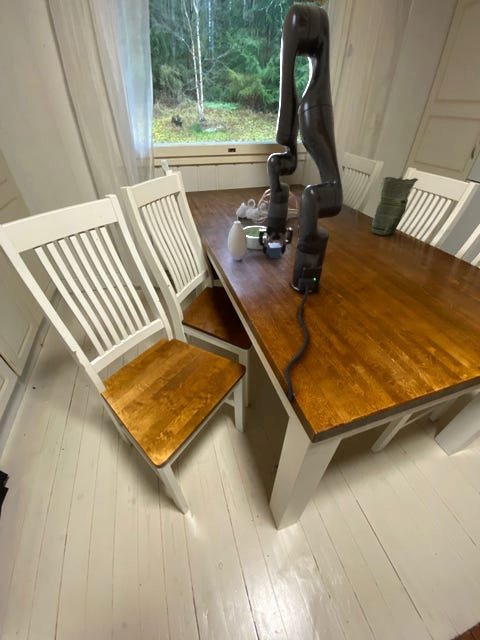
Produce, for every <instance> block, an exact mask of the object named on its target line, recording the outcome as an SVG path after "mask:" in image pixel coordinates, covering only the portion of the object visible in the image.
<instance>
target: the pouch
mask: <svg viewBox="0 0 480 640" xmlns="http://www.w3.org/2000/svg"><path fill="white" fill-rule="evenodd" d="M418 181H419V178H417V177H414V178H410V179H409V178H405V179H404V178H403V176H400V177H399V178H396V177H394V176H387V177H383V178H382V182H381V183H380V194H379V196H380V197H379V201H378V203H377V206H376V210H375V214H374V217H373V218H372V224H371V230H370V232H371V233H373V234H375V235H379V236H388V235H394V234H395V232H396V229H397V228H398V226H399V225H400V223H401V221H402V219H403V215H404V214H405V213H406V209H407V206H408V205H407V204H408V202H409V198H408V197H409V194H410V193H411V189H412V188H413V187H414V186H415V184H416V183H417V182H418Z"/></svg>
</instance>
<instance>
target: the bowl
mask: <svg viewBox="0 0 480 640" xmlns="http://www.w3.org/2000/svg"><path fill="white" fill-rule="evenodd" d="M243 228H244V231H245V233H246V237H247V249H249V250H256V251H257V250H263V246H261V245H260V244H259V229H261V230H265V229H266V228H267V226H262V225H251V226H245V227H243ZM266 236H267V233H265V234H264V235H263V242H264V240H265V238H266ZM272 241H273V240H271V241H270V243H273V242H272ZM267 248H268V245H267Z"/></svg>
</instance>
